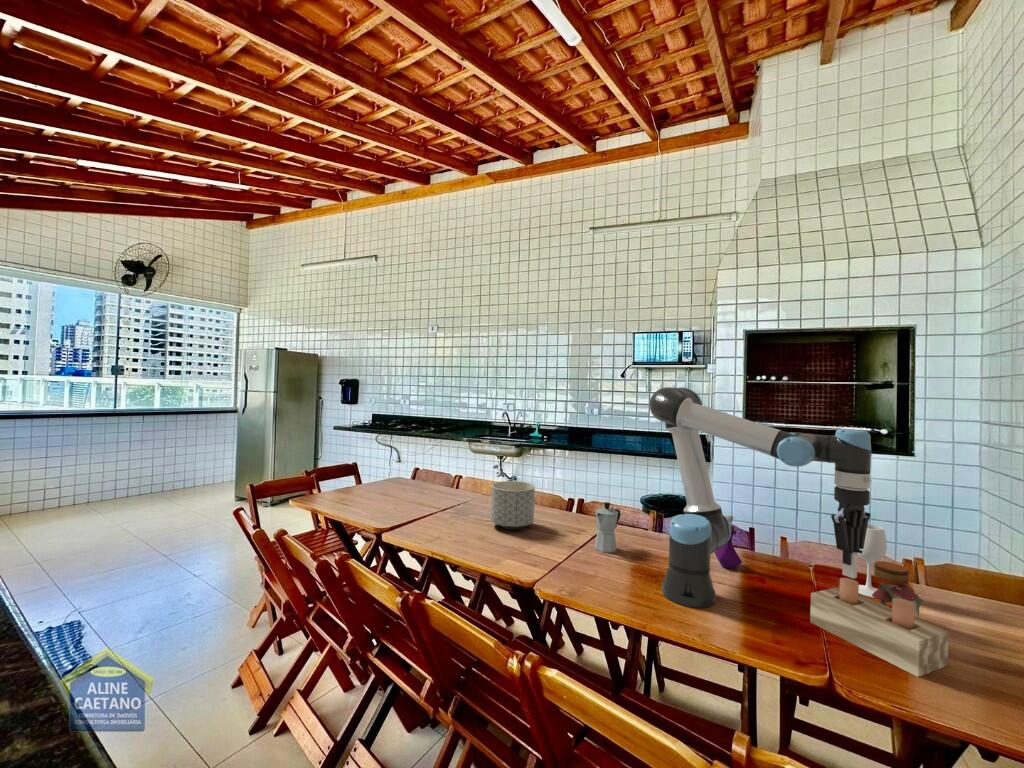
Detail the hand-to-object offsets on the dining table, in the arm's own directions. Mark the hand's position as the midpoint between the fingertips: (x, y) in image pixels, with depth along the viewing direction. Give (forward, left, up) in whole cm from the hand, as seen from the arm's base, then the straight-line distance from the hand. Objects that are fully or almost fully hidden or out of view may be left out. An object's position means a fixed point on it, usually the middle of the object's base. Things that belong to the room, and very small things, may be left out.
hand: (849, 575), depth 117 cm
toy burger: (+18, -1, -15) cm, 23 cm away
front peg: (0, -12, -9) cm, 15 cm away
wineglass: (+31, +12, -15) cm, 36 cm away
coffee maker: (-28, +70, -15) cm, 77 cm away
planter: (-54, +105, -15) cm, 119 cm away
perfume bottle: (+4, +42, -15) cm, 45 cm away
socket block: (0, -6, -14) cm, 16 cm away
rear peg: (0, 0, -8) cm, 8 cm away
